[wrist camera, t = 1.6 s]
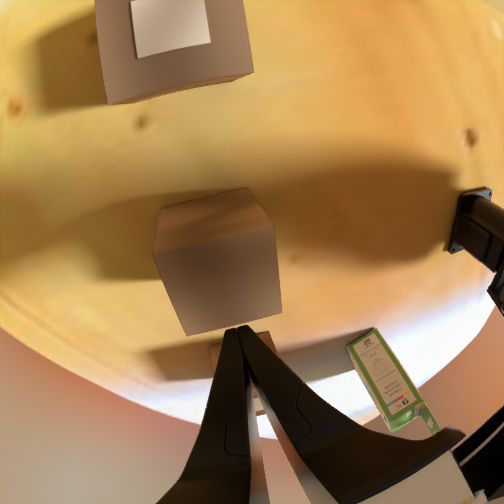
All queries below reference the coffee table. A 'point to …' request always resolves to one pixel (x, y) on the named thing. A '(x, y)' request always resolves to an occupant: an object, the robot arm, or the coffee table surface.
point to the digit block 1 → (170, 46)
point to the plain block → (218, 261)
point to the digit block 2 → (268, 340)
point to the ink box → (388, 382)
